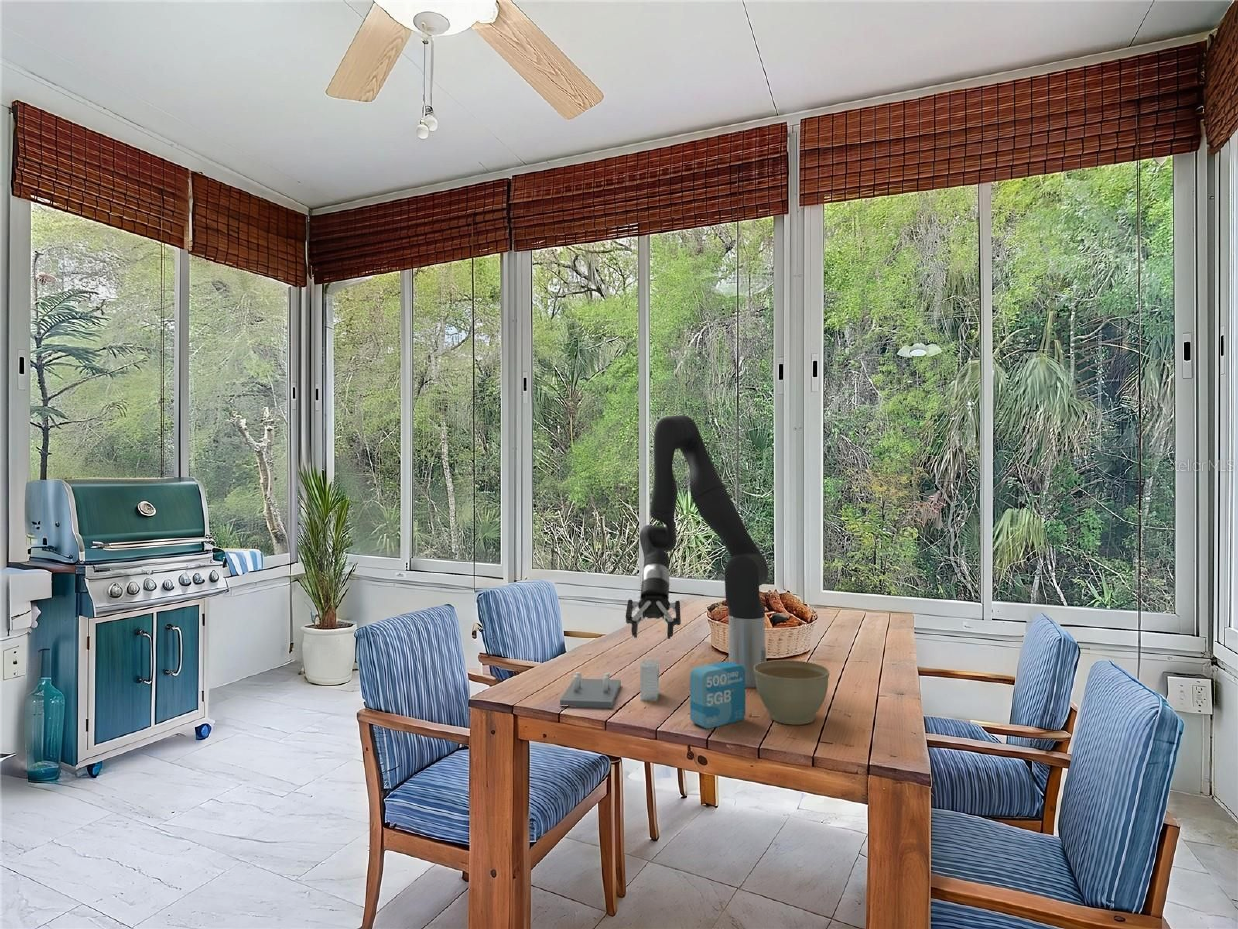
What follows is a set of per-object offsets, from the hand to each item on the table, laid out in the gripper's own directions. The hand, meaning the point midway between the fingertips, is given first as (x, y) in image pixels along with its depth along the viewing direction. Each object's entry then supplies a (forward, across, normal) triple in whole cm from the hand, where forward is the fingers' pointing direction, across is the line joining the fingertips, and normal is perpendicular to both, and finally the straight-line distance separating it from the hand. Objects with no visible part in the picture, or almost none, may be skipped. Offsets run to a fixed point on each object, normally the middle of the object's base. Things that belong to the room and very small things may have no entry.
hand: (652, 636), depth 179 cm
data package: (+26, +16, -8) cm, 32 cm away
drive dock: (+16, -14, +2) cm, 21 cm away
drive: (+15, 0, +3) cm, 15 cm away
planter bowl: (+24, +32, -6) cm, 40 cm away
